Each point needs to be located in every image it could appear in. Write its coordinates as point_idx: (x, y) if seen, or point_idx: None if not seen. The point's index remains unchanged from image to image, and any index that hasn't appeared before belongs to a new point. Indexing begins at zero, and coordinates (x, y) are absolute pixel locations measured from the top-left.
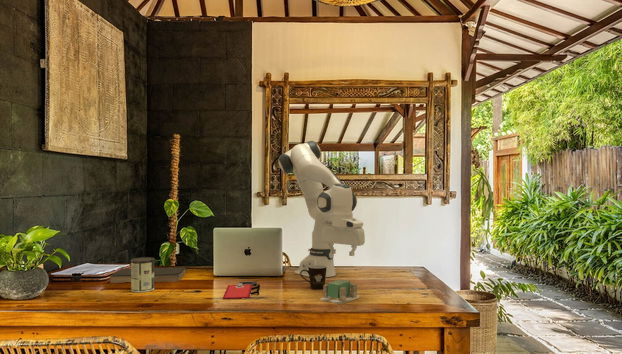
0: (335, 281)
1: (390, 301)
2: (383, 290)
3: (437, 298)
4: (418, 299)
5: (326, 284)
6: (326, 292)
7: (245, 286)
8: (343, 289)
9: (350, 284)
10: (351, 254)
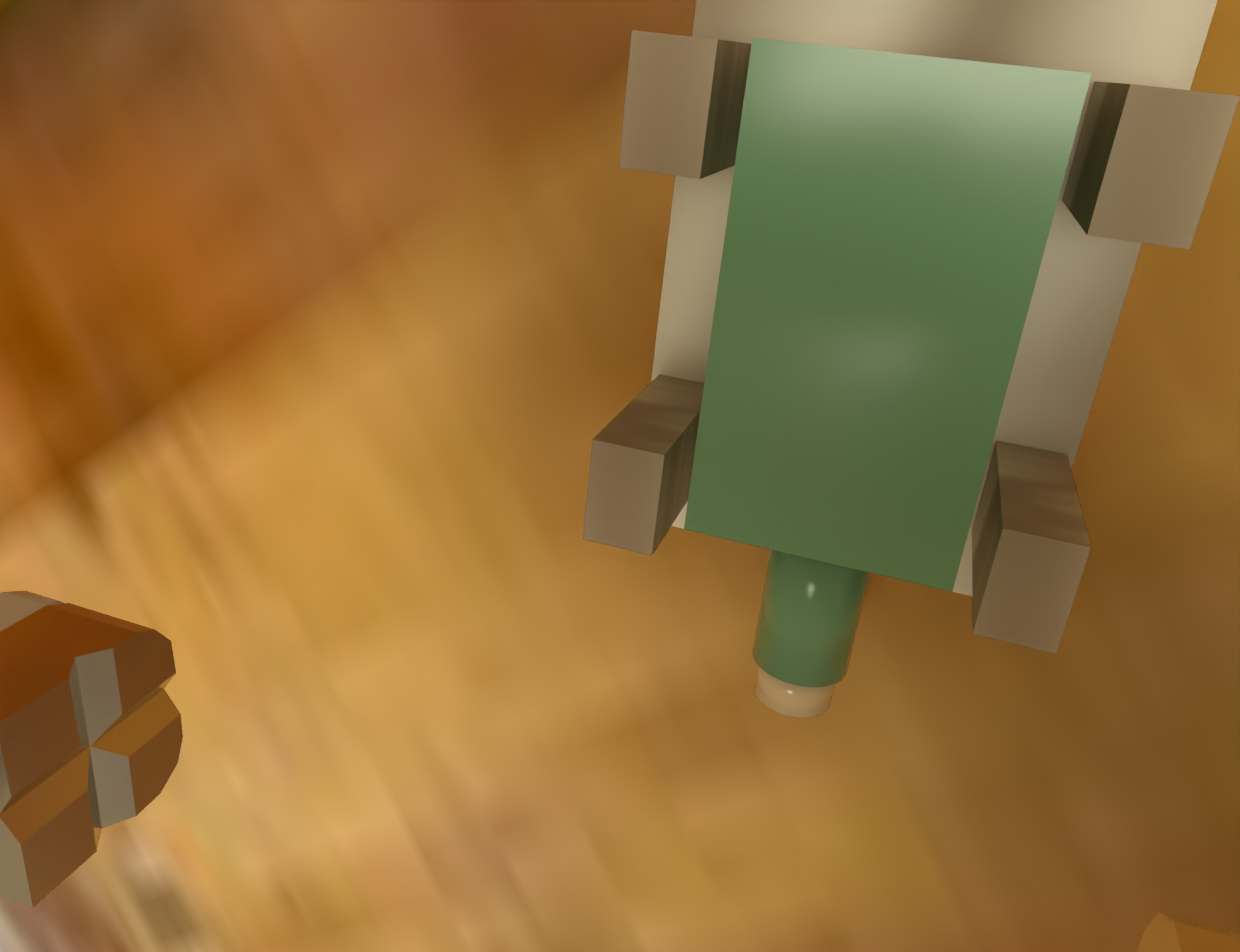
0: (965, 347)
1: (249, 496)
2: (553, 942)
3: None
4: None
5: (1190, 227)
6: (1108, 84)
7: None
8: (634, 52)
9: (764, 617)
10: (4, 620)
